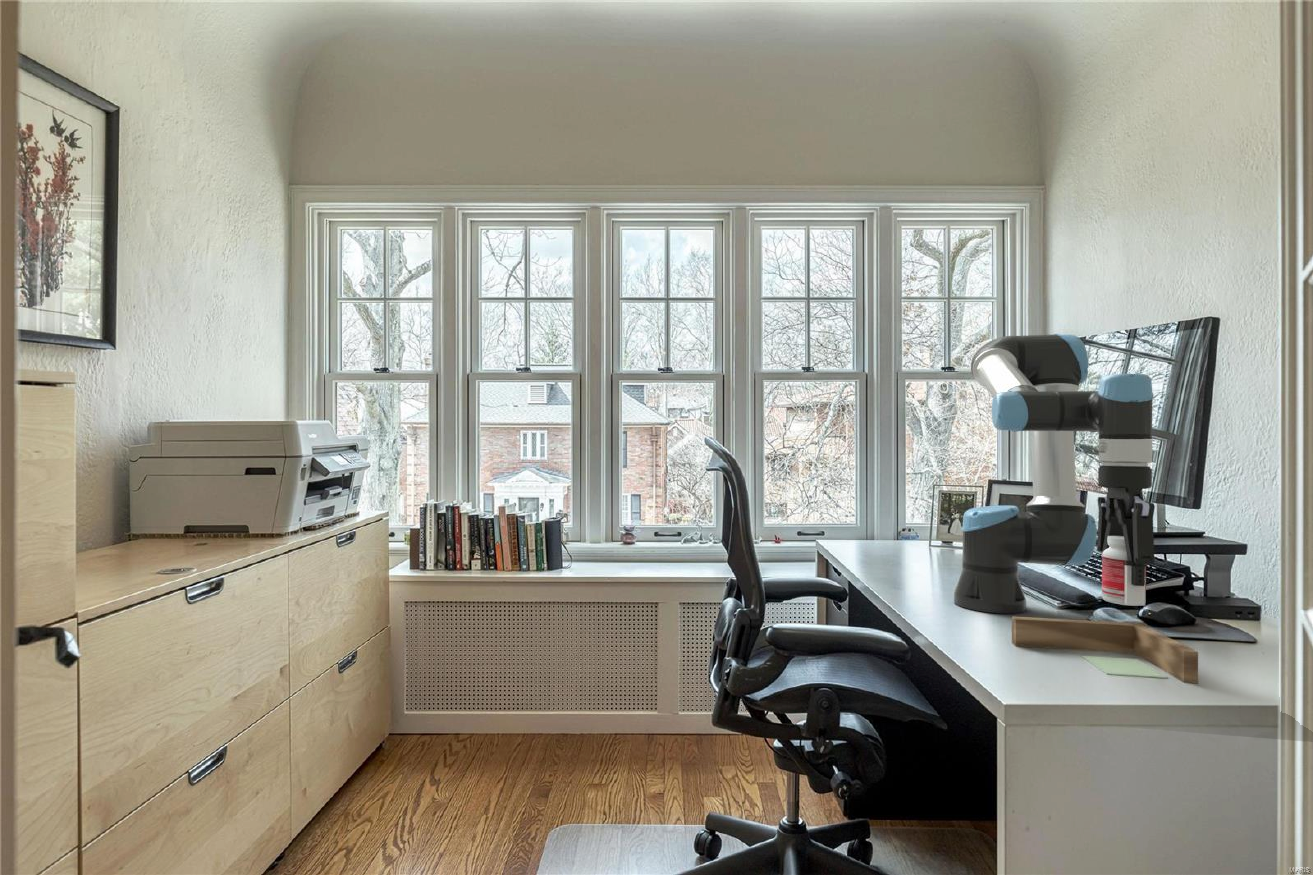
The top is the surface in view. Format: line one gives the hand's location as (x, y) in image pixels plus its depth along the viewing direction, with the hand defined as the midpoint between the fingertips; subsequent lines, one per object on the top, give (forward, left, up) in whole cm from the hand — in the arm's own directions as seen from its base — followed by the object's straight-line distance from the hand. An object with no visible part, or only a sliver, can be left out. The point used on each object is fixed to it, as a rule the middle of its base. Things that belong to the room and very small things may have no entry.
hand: (1123, 599), depth 113 cm
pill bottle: (0, 0, -1) cm, 1 cm away
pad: (0, 0, -12) cm, 12 cm away
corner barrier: (-3, -3, -12) cm, 12 cm away
